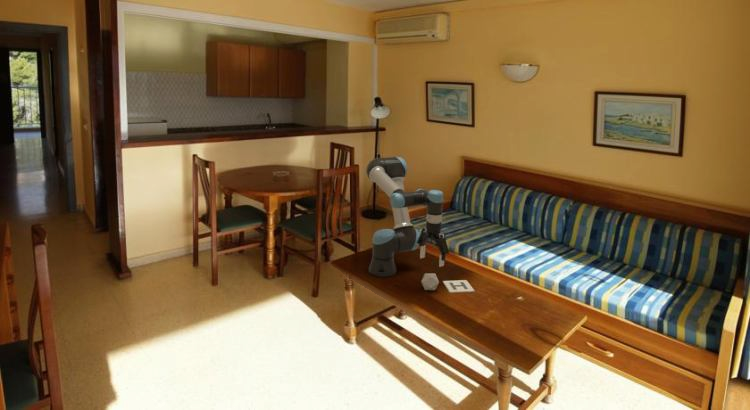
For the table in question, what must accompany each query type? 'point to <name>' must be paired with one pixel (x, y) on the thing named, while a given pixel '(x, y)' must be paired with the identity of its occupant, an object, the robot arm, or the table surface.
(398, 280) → the table surface
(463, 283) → the board
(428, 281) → the die
